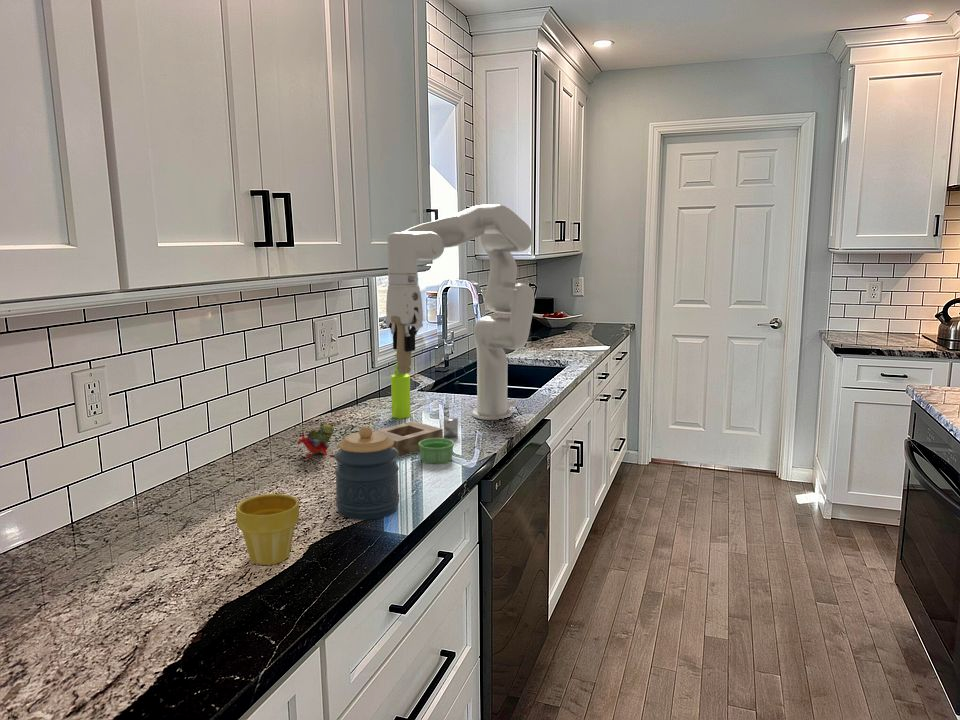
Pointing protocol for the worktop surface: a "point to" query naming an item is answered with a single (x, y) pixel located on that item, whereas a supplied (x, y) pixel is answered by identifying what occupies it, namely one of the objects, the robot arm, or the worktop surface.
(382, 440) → the canister
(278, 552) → the plant pot
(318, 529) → the worktop surface
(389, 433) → the hole block
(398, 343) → the handle
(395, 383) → the green peg
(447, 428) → the short pin
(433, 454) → the ramekin
